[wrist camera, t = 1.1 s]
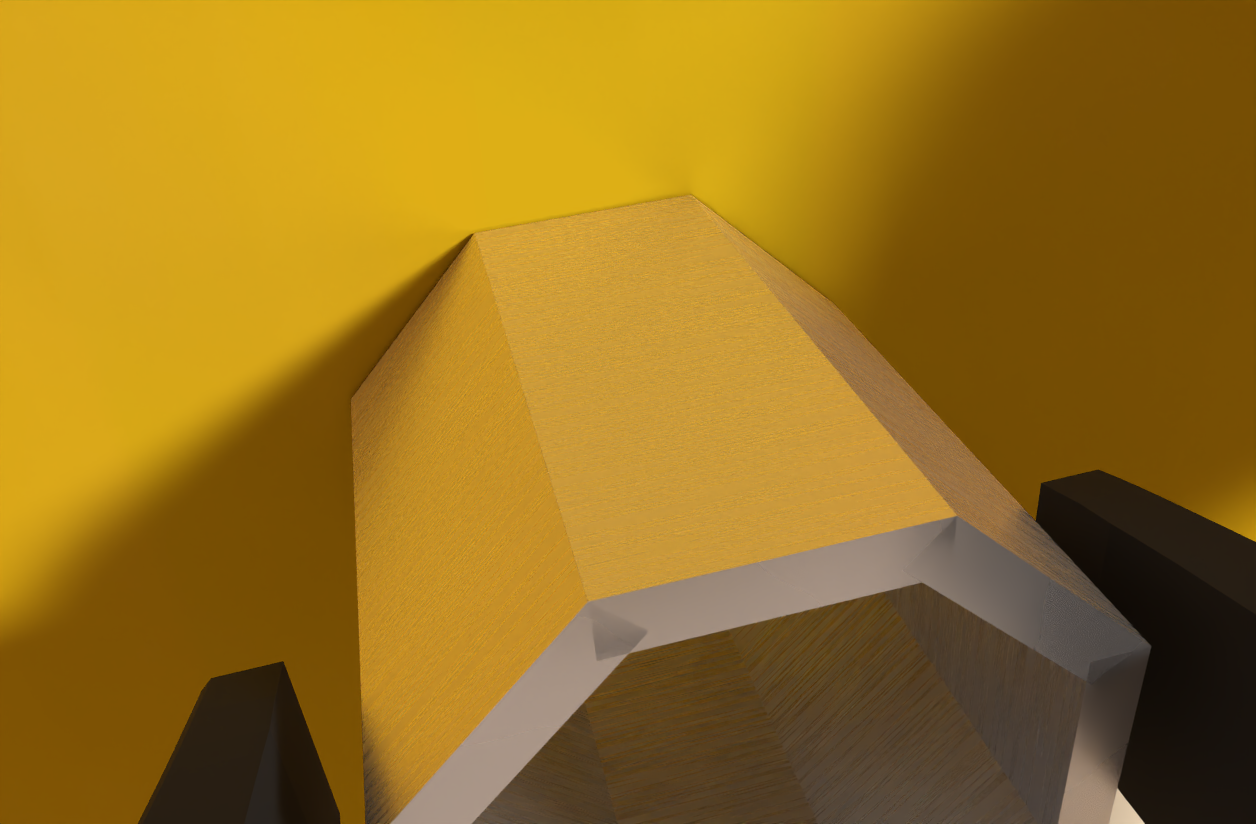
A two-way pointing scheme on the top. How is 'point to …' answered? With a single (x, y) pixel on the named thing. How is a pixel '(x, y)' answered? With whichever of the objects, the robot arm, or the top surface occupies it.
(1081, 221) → the top surface
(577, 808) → the collar
